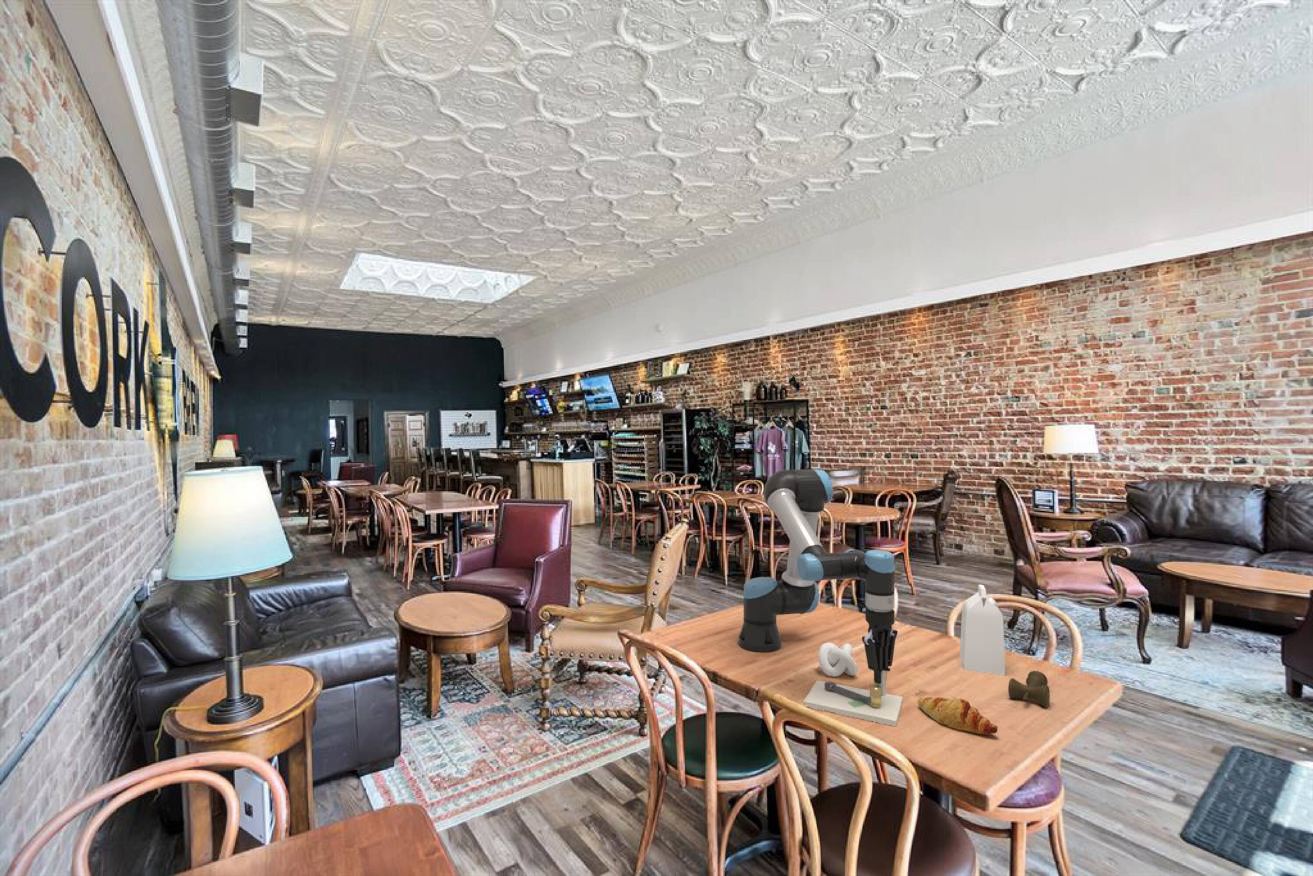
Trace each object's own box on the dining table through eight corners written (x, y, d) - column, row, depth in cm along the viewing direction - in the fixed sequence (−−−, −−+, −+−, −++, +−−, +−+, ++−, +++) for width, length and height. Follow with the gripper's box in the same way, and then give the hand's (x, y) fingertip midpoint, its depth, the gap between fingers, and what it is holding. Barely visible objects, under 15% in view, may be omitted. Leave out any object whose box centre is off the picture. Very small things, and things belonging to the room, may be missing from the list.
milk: (959, 657, 202) (960, 580, 201) (998, 662, 198) (998, 584, 197) (964, 670, 190) (964, 589, 190) (1005, 676, 186) (1005, 593, 186)
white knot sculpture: (823, 663, 197) (823, 636, 197) (861, 669, 191) (861, 642, 191) (815, 675, 187) (815, 647, 187) (855, 683, 181) (855, 653, 181)
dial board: (803, 706, 165) (803, 701, 165) (816, 685, 179) (816, 680, 179) (896, 726, 154) (896, 720, 154) (902, 702, 168) (902, 696, 168)
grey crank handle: (822, 688, 173) (822, 670, 173) (828, 685, 175) (828, 668, 175) (877, 708, 160) (877, 690, 160) (883, 705, 162) (883, 686, 162)
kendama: (1057, 693, 175) (1044, 715, 161) (1019, 685, 182) (1004, 705, 167) (1057, 672, 176) (1044, 692, 161) (1019, 665, 182) (1004, 683, 167)
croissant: (912, 722, 164) (904, 700, 161) (929, 697, 169) (922, 675, 167) (992, 755, 146) (984, 730, 144) (1009, 725, 152) (1001, 701, 149)
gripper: (877, 616, 156) (877, 705, 157) (906, 607, 163) (906, 692, 164) (853, 609, 162) (853, 695, 163) (882, 601, 170) (882, 683, 170)
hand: (880, 693), depth 163 cm, fingers closed
